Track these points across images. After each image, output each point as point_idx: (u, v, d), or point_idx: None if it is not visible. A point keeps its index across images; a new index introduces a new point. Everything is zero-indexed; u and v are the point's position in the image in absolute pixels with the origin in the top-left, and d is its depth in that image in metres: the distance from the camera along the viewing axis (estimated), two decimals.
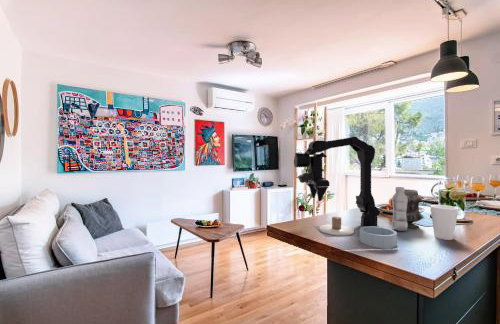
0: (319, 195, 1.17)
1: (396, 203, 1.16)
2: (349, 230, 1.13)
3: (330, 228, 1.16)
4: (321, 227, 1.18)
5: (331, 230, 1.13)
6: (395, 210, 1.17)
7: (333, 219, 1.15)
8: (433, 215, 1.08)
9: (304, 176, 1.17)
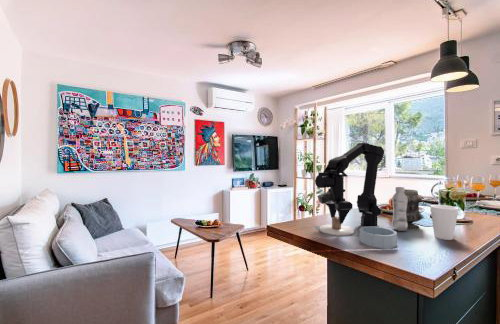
0: (341, 217, 1.10)
1: (396, 203, 1.16)
2: (349, 230, 1.13)
3: (330, 228, 1.16)
4: (321, 227, 1.18)
5: (331, 230, 1.13)
6: (395, 210, 1.17)
7: (333, 219, 1.15)
8: (433, 215, 1.08)
9: (325, 197, 1.11)
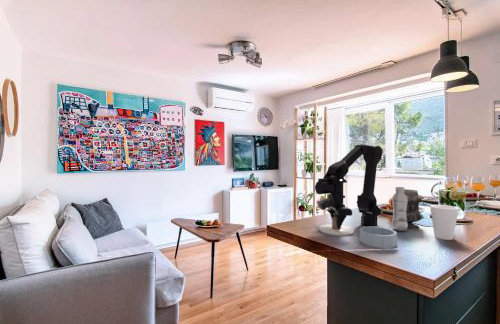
0: (338, 222, 1.13)
1: (396, 203, 1.16)
2: (349, 230, 1.13)
3: (330, 228, 1.16)
4: (321, 227, 1.18)
5: (331, 230, 1.13)
6: (395, 210, 1.17)
7: (333, 219, 1.15)
8: (433, 215, 1.08)
9: (325, 203, 1.11)
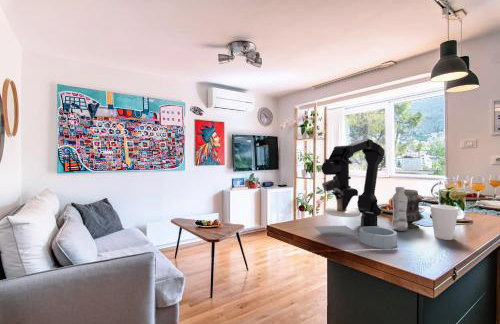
0: (344, 204, 1.10)
1: (396, 203, 1.16)
2: (355, 212, 1.11)
3: (335, 210, 1.14)
4: (326, 209, 1.16)
5: (336, 212, 1.11)
6: (395, 210, 1.17)
7: (338, 201, 1.13)
8: (433, 215, 1.08)
9: (330, 184, 1.09)
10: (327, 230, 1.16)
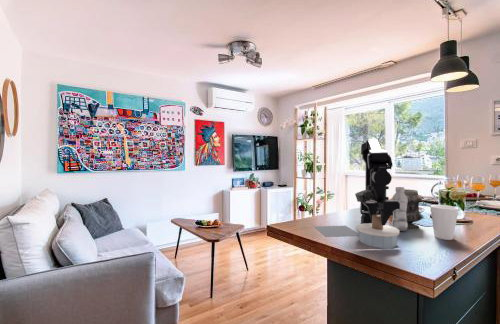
0: (384, 218, 0.96)
1: None
2: (393, 230, 0.98)
3: (370, 228, 1.01)
4: (359, 227, 1.03)
5: (372, 230, 0.98)
6: (395, 210, 1.17)
7: (374, 217, 1.00)
8: (433, 215, 1.08)
9: (366, 195, 0.96)
10: (327, 230, 1.16)
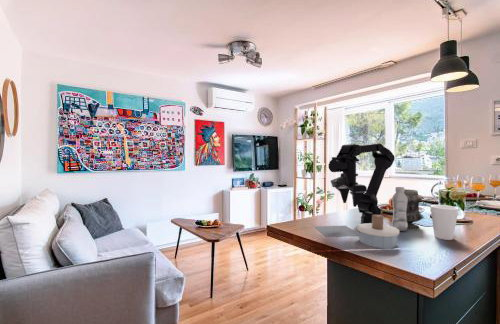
0: (355, 200, 1.14)
1: (396, 203, 1.16)
2: (393, 230, 0.98)
3: (370, 228, 1.01)
4: (359, 227, 1.03)
5: (372, 230, 0.98)
6: (395, 210, 1.17)
7: (374, 217, 1.00)
8: (433, 215, 1.08)
9: (339, 181, 1.14)
10: (327, 230, 1.16)
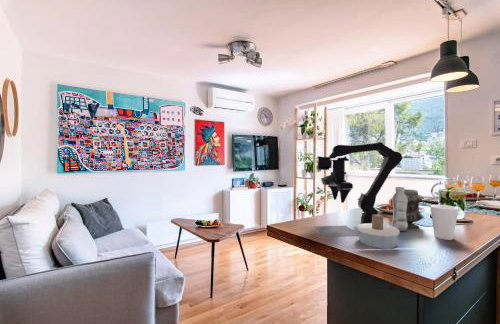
0: (342, 197, 1.23)
1: (396, 203, 1.16)
2: (393, 230, 0.98)
3: (370, 228, 1.01)
4: (359, 227, 1.03)
5: (372, 230, 0.98)
6: (395, 210, 1.17)
7: (374, 217, 1.00)
8: (433, 215, 1.08)
9: (328, 179, 1.23)
10: (327, 230, 1.16)
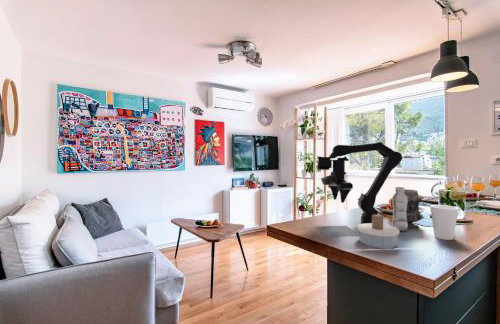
0: (342, 197, 1.23)
1: (396, 203, 1.16)
2: (393, 230, 0.98)
3: (370, 228, 1.01)
4: (359, 227, 1.03)
5: (372, 230, 0.98)
6: (395, 210, 1.17)
7: (374, 217, 1.00)
8: (433, 215, 1.08)
9: (328, 179, 1.23)
10: (327, 230, 1.16)
